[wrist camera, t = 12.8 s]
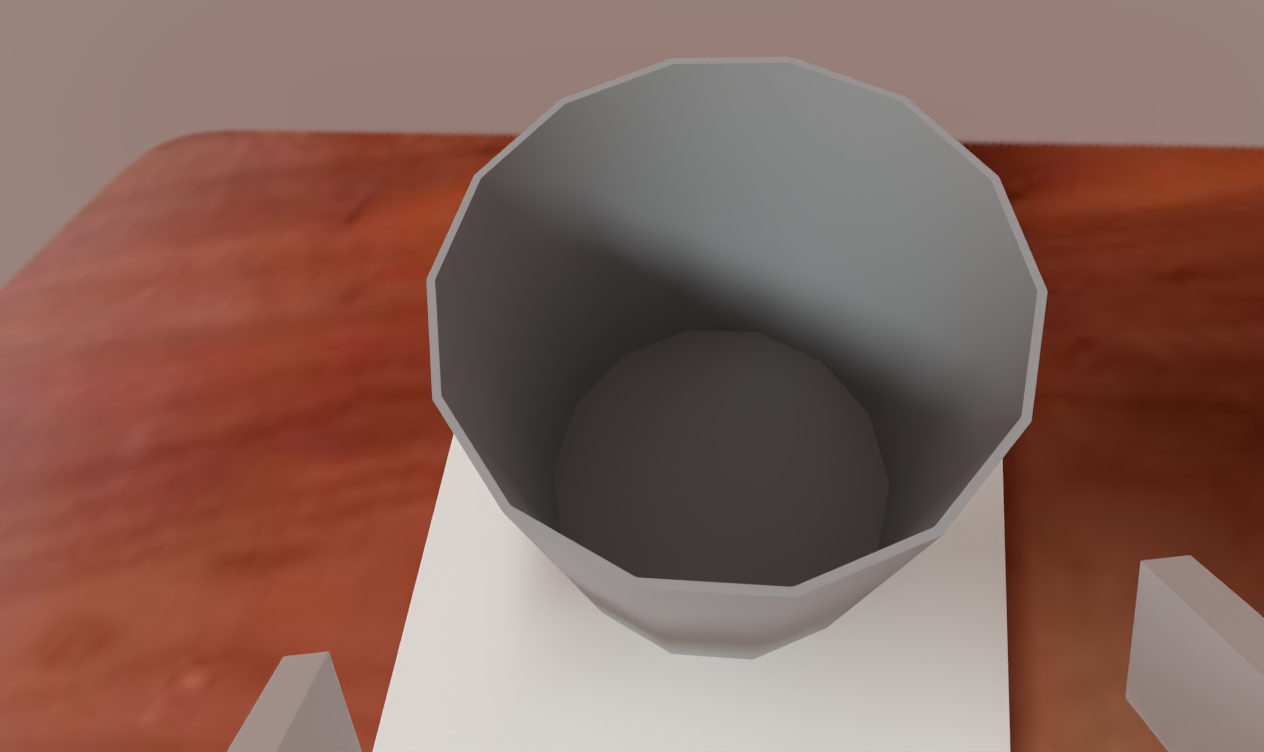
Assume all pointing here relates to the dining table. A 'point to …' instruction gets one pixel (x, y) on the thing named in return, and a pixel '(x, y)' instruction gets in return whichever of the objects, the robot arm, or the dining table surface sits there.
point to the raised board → (686, 684)
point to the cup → (734, 343)
